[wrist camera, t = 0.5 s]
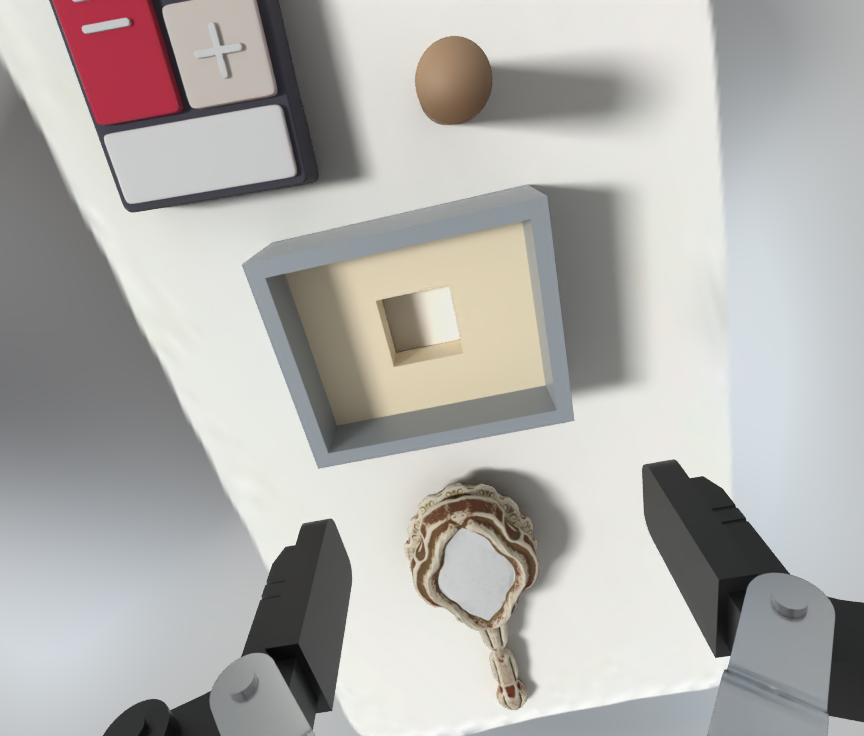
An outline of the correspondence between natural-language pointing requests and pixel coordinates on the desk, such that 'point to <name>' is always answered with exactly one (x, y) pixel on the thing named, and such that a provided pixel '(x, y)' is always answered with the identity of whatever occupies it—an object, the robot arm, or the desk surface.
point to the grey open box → (428, 366)
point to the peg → (453, 80)
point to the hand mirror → (476, 568)
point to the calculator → (189, 97)
